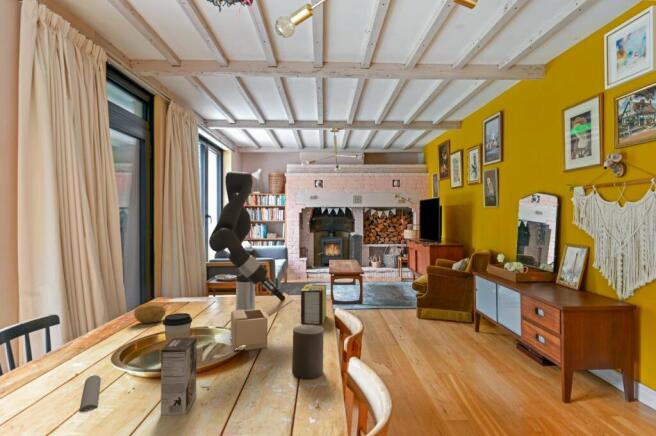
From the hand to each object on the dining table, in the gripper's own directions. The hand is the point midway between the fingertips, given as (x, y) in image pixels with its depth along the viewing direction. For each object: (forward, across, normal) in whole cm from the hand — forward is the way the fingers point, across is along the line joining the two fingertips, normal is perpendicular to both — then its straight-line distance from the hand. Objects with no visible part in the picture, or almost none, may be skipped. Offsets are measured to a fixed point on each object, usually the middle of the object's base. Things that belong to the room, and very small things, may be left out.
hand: (283, 298), depth 143 cm
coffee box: (-14, -41, +38) cm, 57 cm away
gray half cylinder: (-30, -26, +54) cm, 67 cm away
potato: (-26, +43, +49) cm, 70 cm away
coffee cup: (-16, -9, +39) cm, 43 cm away
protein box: (+26, +23, -3) cm, 35 cm away
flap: (-2, 0, +8) cm, 9 cm away
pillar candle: (+12, -33, +11) cm, 37 cm away
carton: (+2, 0, +21) cm, 21 cm away
